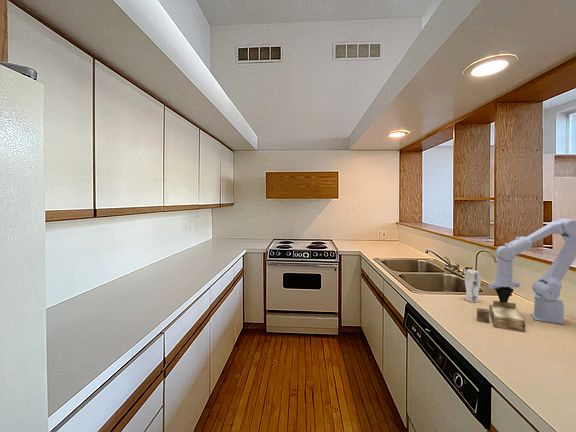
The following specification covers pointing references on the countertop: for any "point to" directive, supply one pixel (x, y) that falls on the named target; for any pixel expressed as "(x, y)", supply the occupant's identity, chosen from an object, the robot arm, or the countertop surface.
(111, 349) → the countertop surface
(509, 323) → the brown divided tray
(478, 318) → the block
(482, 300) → the countertop surface
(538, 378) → the countertop surface
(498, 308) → the lid
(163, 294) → the countertop surface
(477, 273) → the beer glass
